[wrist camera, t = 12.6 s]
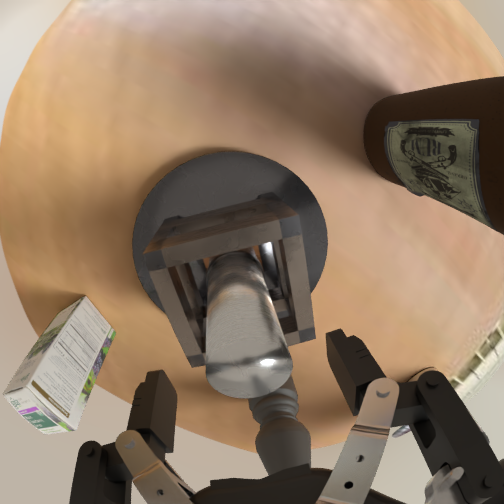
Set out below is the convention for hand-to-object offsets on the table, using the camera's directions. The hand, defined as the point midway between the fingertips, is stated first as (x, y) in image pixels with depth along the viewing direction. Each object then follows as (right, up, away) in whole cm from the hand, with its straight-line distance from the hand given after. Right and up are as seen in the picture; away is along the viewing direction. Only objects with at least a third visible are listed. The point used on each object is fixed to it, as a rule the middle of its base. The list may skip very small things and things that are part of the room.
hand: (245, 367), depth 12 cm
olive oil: (+15, +17, +12) cm, 26 cm away
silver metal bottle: (-1, +5, +12) cm, 14 cm away
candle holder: (+3, -12, +22) cm, 25 cm away
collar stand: (-2, +6, +14) cm, 15 cm away
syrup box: (-19, -2, +15) cm, 24 cm away
